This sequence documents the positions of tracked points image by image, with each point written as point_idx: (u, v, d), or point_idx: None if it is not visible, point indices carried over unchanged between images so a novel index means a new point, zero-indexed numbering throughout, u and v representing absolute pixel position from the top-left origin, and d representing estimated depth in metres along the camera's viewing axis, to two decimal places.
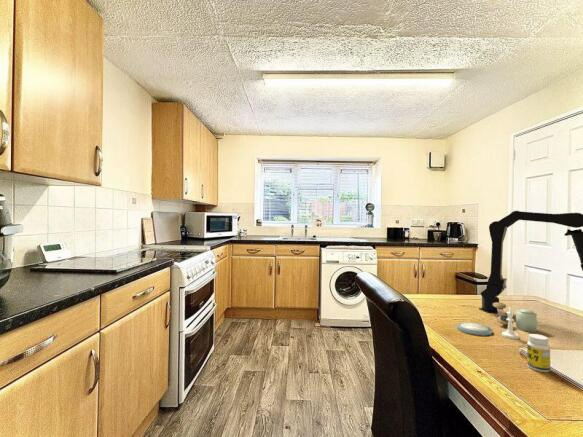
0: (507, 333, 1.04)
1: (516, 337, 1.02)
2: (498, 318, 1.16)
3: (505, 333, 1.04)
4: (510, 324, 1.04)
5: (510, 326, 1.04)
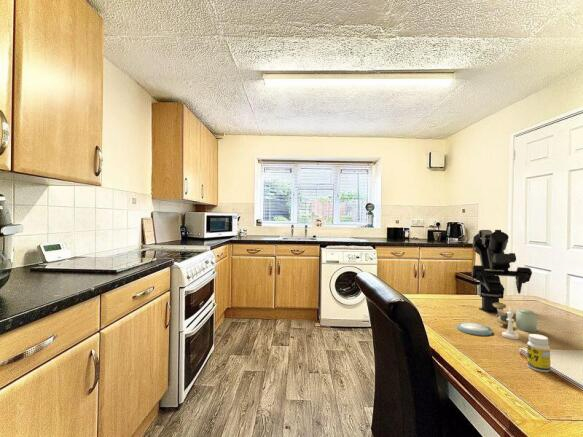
0: (507, 333, 1.04)
1: (516, 337, 1.02)
2: (498, 318, 1.16)
3: (505, 333, 1.04)
4: (510, 324, 1.04)
5: (510, 326, 1.04)
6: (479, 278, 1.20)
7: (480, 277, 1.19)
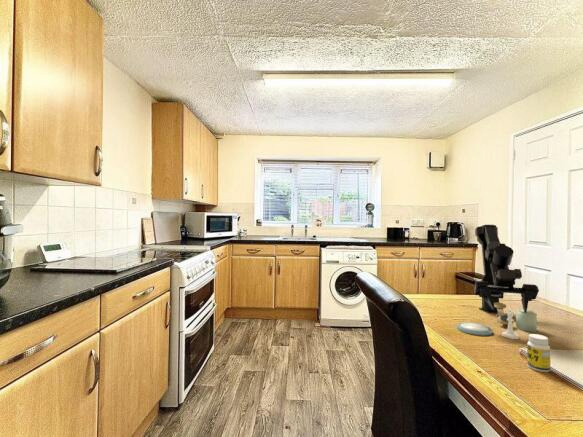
0: (507, 333, 1.04)
1: (516, 337, 1.02)
2: (498, 318, 1.16)
3: (505, 333, 1.04)
4: (510, 324, 1.04)
5: (510, 326, 1.04)
6: (482, 295, 1.13)
7: (483, 294, 1.13)
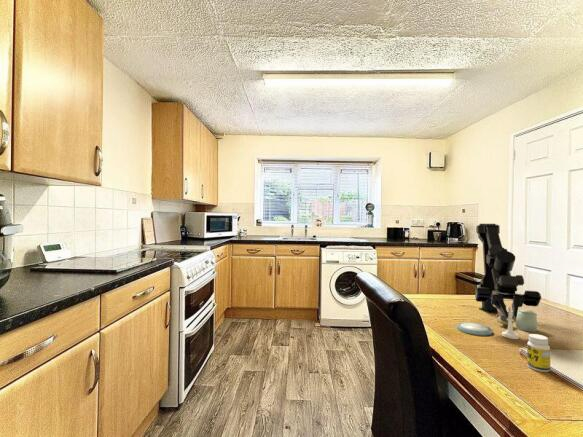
0: (507, 333, 1.04)
1: (516, 337, 1.02)
2: (498, 318, 1.16)
3: (505, 333, 1.04)
4: (510, 324, 1.04)
5: (510, 326, 1.04)
6: (495, 302, 1.10)
7: (496, 301, 1.09)
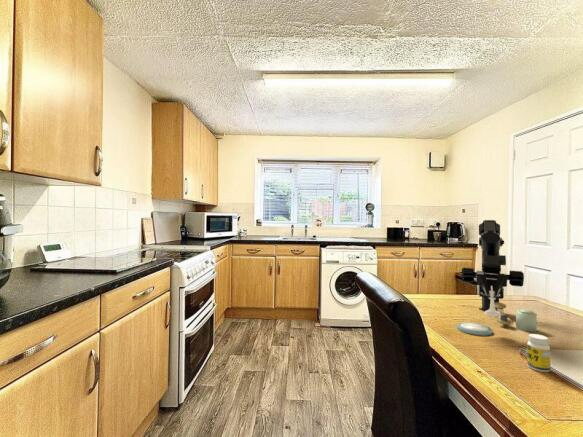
0: (489, 311, 1.07)
1: (497, 315, 1.05)
2: (498, 318, 1.16)
3: (487, 311, 1.07)
4: (492, 302, 1.07)
5: (492, 304, 1.07)
6: (479, 282, 1.13)
7: (480, 281, 1.12)
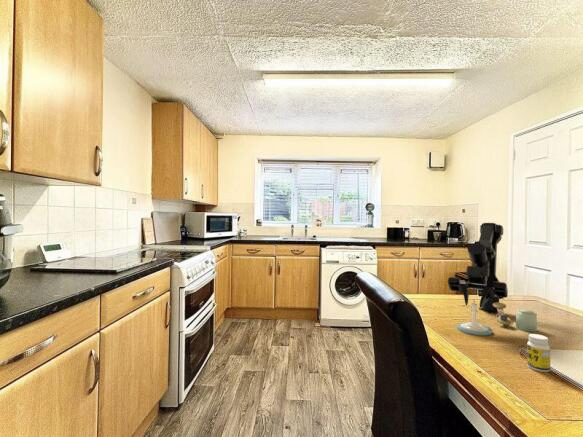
0: (470, 323, 1.10)
1: (477, 327, 1.08)
2: (498, 318, 1.16)
3: (469, 323, 1.11)
4: (473, 315, 1.10)
5: (473, 317, 1.10)
6: (462, 291, 1.17)
7: (463, 290, 1.16)
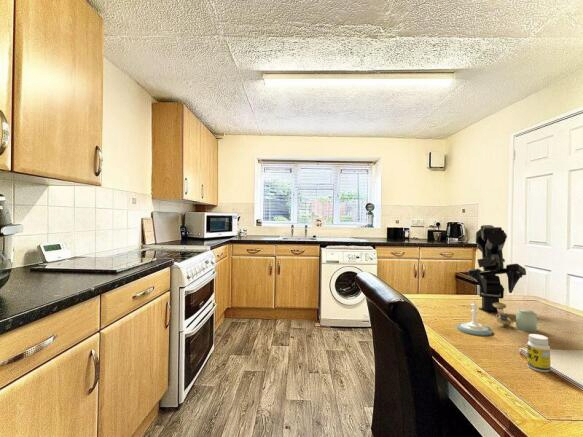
0: (470, 323, 1.10)
1: (477, 327, 1.08)
2: (498, 318, 1.16)
3: (469, 323, 1.11)
4: (473, 315, 1.10)
5: (473, 317, 1.10)
6: None
7: None
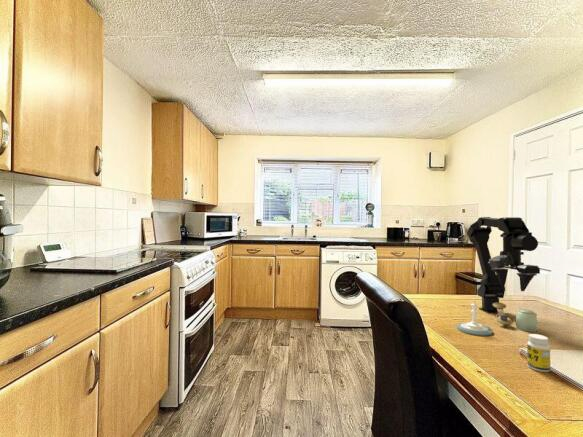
0: (470, 323, 1.10)
1: (477, 327, 1.08)
2: (498, 318, 1.16)
3: (469, 323, 1.11)
4: (473, 315, 1.10)
5: (473, 317, 1.10)
6: None
7: None
